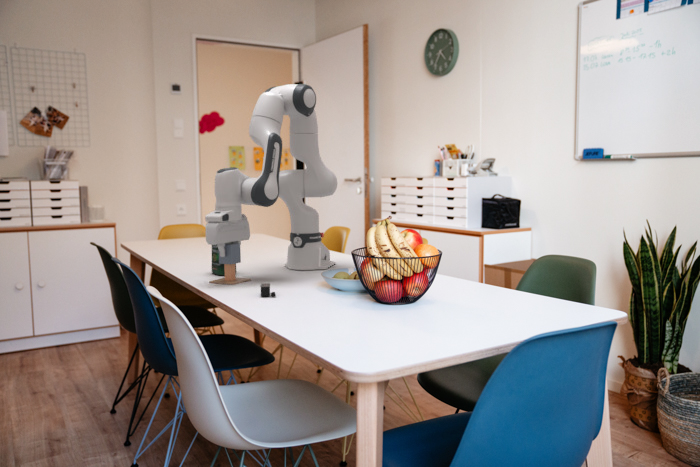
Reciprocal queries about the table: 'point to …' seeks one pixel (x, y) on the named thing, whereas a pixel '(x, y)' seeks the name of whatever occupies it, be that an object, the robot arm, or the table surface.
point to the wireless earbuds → (266, 290)
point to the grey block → (231, 254)
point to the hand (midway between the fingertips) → (229, 255)
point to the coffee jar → (217, 262)
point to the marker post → (229, 276)
